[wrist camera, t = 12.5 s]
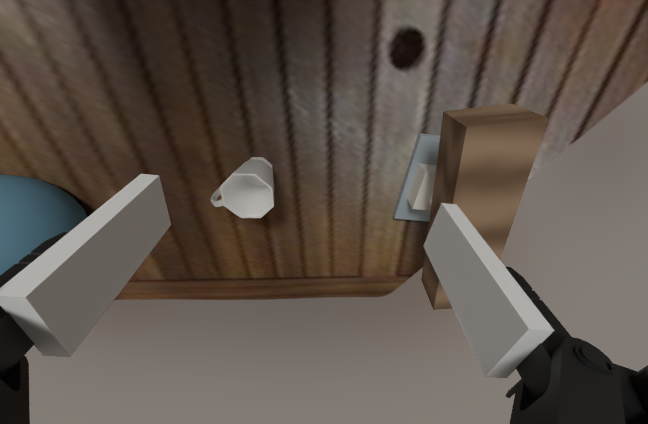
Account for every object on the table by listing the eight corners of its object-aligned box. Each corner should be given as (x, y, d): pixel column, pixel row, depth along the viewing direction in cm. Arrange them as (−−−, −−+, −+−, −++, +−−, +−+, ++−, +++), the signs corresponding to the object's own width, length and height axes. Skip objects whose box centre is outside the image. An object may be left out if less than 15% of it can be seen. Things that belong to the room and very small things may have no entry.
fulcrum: (418, 133, 38) (439, 155, 31) (486, 141, 39) (520, 164, 32) (392, 215, 46) (405, 246, 39) (449, 220, 47) (471, 252, 40)
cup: (290, 181, 42) (284, 210, 35) (234, 201, 44) (218, 232, 37) (269, 140, 38) (258, 163, 32) (208, 164, 40) (186, 191, 34)
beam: (443, 111, 29) (466, 127, 24) (511, 103, 28) (548, 118, 24) (421, 279, 43) (433, 309, 39) (466, 276, 43) (484, 305, 38)
